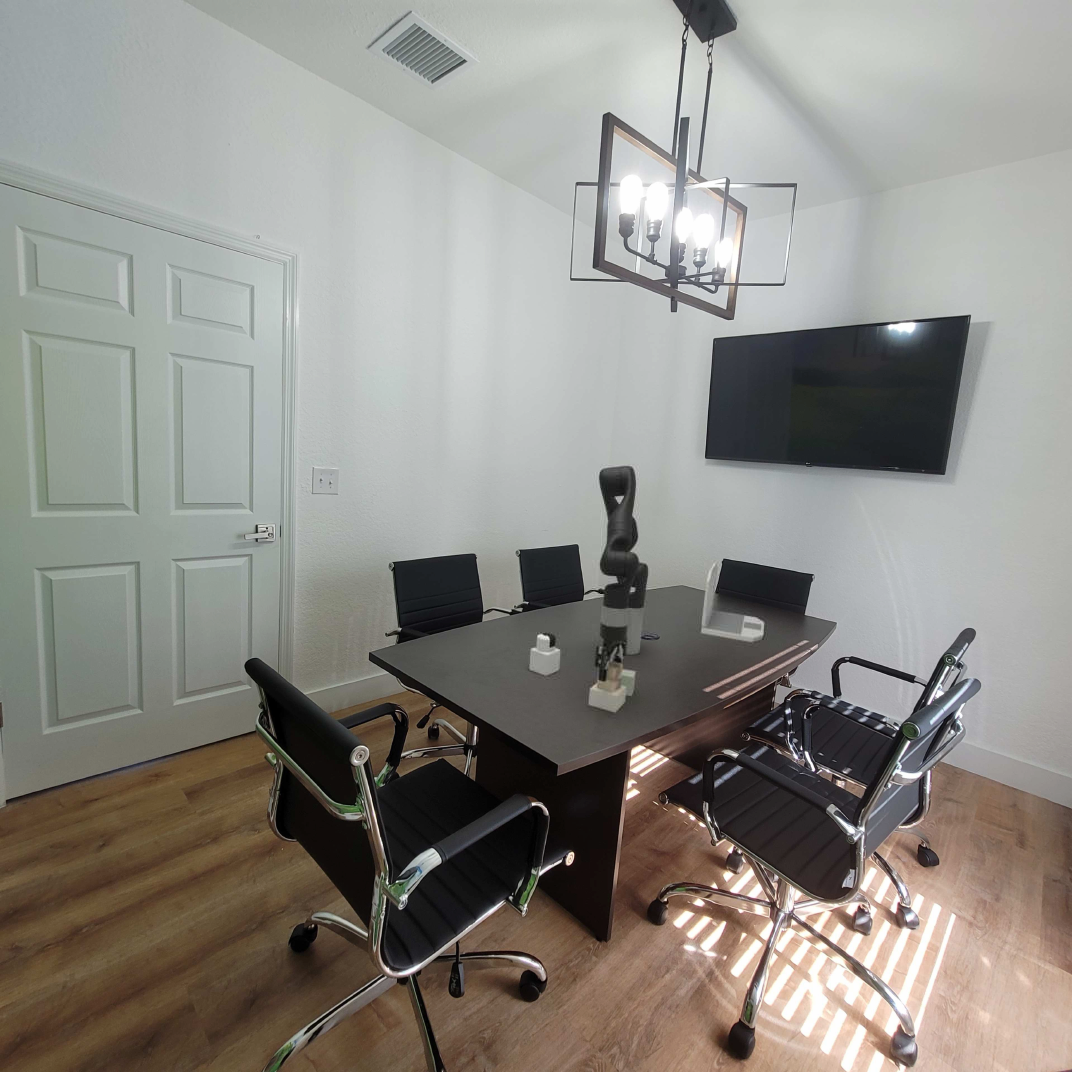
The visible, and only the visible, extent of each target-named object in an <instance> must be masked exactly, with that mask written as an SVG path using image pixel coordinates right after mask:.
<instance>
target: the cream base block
mask: <svg viewBox="0 0 1072 1072" xmlns="http://www.w3.org/2000/svg"><path fill="white" fill-rule="evenodd" d="M626 696H627V695H626V686H622V685H621V688H619V689H618V690H616V691H615V692H613V693H611V692H608V691H605V690H602V689H599V688H597V682H596V683H595V684H594V685H592V686H591V687H590V688H589V694H588V706H590V707H591V706H592V707H593V708H594V707H595V708H597V709H598V708H599V709H602V710H605V711H608V712H610V713H611V712H612V713H617V712H618V711H619V709H620V708H621V707H622V706H623V705H624V704H625V702H626Z"/></svg>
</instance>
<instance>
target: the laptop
mask: <svg viewBox="0 0 1072 1072" xmlns="http://www.w3.org/2000/svg"><path fill="white" fill-rule="evenodd" d="M717 575H718V562H714V563H713V564H712V566H711V567H710V569H709V570H708V574H707V576H706V577H707V578H706V582H705V590H704V591H705V592H704V599H703V609H702V616H701V617H702V618H701V630H700V633H701V634H704V635H710V636H717V637H721V638H726V639H727V638H728V639H733V640H737V641H744V642H749V643H755V642H757V641H763V637H764V635H765V633H764V632H765V631H764V630H765V622H764V621H763V620H761V619H759V618H757V617H756V616H749V615H744V614H740V613H739V614H738V613H733V612H727V611H720V610H715V609H713V607H714V600H715V590H716V582H717Z"/></svg>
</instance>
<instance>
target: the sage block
mask: <svg viewBox="0 0 1072 1072" xmlns="http://www.w3.org/2000/svg"><path fill="white" fill-rule="evenodd" d="M635 678H636V671H635V670H630V669H626V668H625V669H624V668H622V679H621V685H622V686H626V696H628V697H633V694H634V690H635V681H636V679H635Z"/></svg>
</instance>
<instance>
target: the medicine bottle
mask: <svg viewBox="0 0 1072 1072" xmlns="http://www.w3.org/2000/svg"><path fill="white" fill-rule="evenodd" d="M556 639H557V637H556V636H555V634H553V633H549V632H542V633H539V634H538V635H537V636H536V647H532V648H530V651H529V653H530V654H529V665H528V666H529V670H530V671H532V672H534V673H537V674H540V675H542V676H545V677H546V676H547V677H548V676H549V675H551V674H553V673H556V672H558V671H560V666H561V665H560V664H561V649H559V648H556V644H557V641H556Z"/></svg>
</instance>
